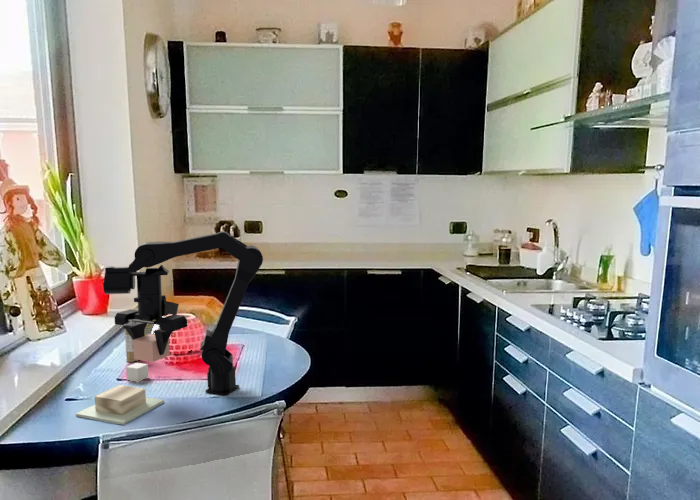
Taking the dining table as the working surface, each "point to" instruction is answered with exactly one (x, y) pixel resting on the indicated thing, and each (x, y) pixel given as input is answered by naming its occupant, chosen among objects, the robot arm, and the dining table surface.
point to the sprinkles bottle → (129, 347)
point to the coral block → (148, 349)
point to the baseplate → (120, 419)
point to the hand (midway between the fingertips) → (151, 353)
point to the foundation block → (120, 399)
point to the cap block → (137, 372)
